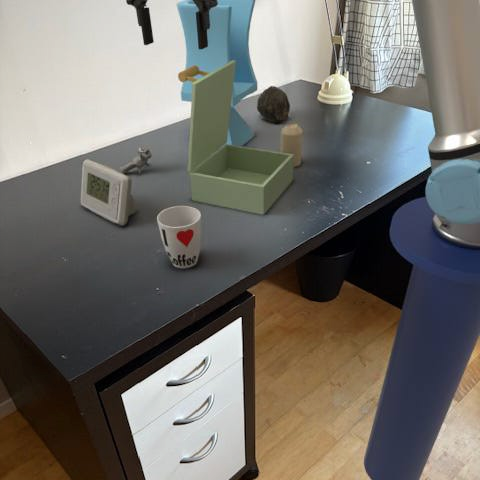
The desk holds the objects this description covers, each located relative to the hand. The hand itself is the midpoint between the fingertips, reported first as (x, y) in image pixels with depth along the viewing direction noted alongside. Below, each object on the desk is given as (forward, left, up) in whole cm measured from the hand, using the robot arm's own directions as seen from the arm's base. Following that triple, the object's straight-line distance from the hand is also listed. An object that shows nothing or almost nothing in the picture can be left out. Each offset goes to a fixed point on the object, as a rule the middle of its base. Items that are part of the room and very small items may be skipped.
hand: (175, 46), depth 102 cm
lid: (-8, 0, -14) cm, 16 cm away
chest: (-15, 0, -30) cm, 34 cm away
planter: (+4, -26, -31) cm, 40 cm away
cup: (-17, +32, -31) cm, 48 cm away
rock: (-3, -49, -31) cm, 58 cm away
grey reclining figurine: (+15, +1, -31) cm, 34 cm away
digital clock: (+9, +22, -31) cm, 39 cm away
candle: (-20, -19, -31) cm, 41 cm away
